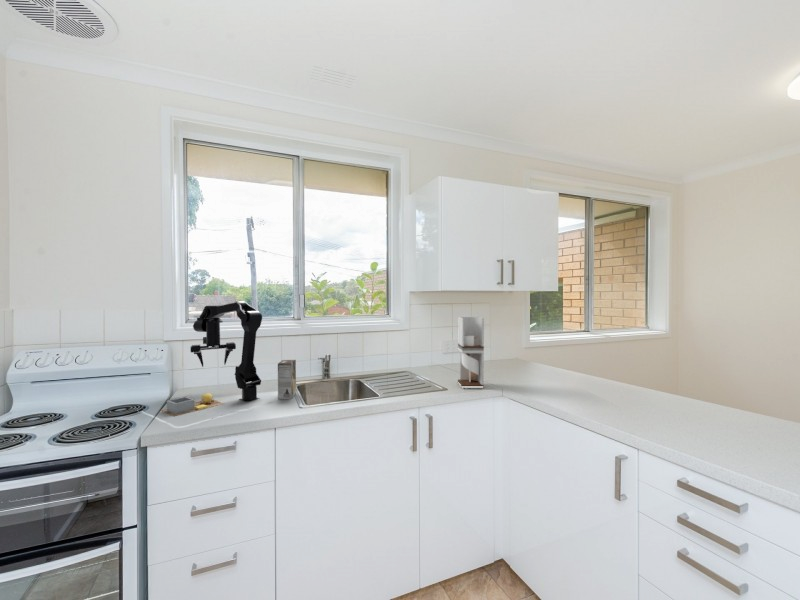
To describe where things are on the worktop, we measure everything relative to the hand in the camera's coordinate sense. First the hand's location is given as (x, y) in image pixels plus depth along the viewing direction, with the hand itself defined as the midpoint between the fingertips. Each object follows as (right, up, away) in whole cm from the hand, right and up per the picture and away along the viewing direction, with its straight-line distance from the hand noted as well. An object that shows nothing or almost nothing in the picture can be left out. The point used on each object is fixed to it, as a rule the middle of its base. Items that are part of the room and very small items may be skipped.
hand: (213, 365), depth 174 cm
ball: (+5, -13, -16) cm, 21 cm away
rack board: (+2, -14, -21) cm, 25 cm away
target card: (+6, -14, -23) cm, 27 cm away
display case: (+123, -14, +16) cm, 125 cm away
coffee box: (+35, -14, -3) cm, 38 cm away
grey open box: (-1, -14, -25) cm, 29 cm away
